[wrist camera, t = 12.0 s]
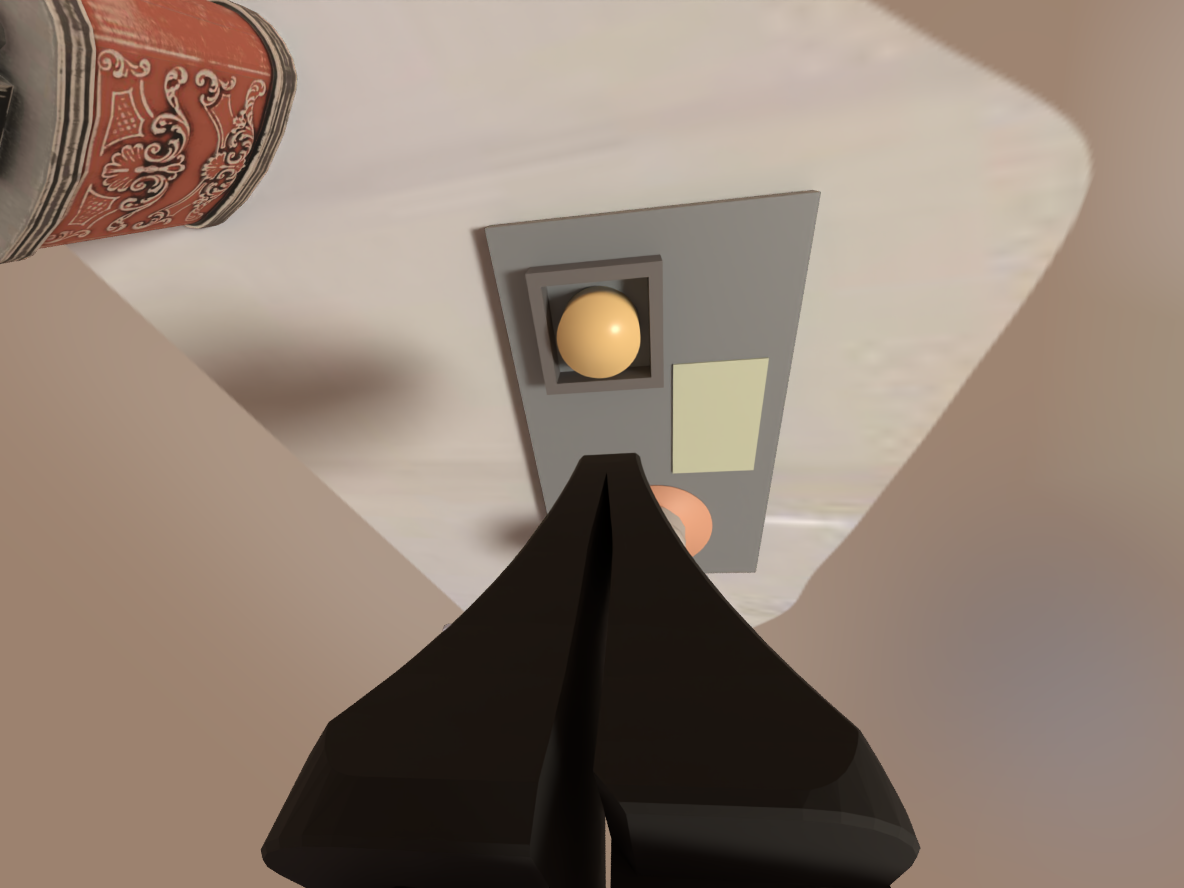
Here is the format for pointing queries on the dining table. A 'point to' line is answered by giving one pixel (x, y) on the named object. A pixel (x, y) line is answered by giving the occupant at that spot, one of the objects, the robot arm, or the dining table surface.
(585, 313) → the button
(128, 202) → the lighter
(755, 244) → the grey board
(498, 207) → the dining table surface
